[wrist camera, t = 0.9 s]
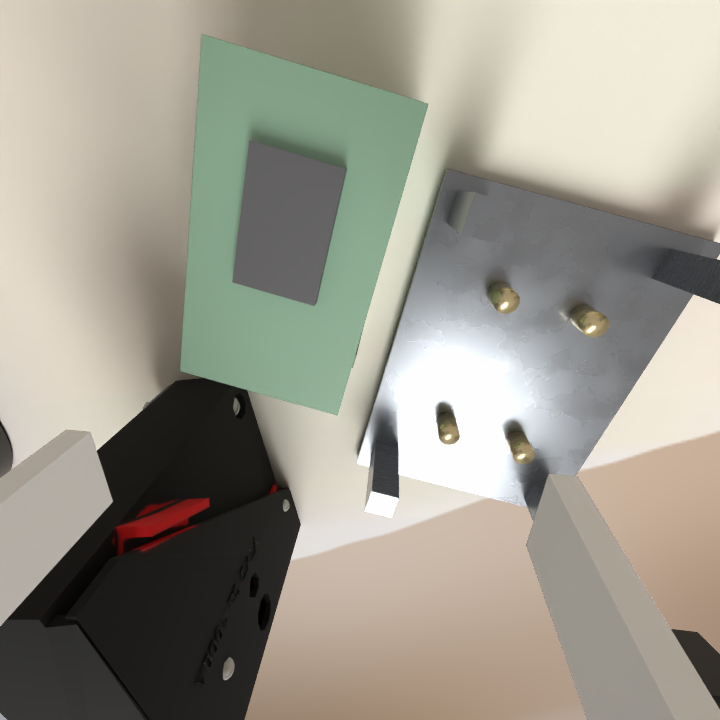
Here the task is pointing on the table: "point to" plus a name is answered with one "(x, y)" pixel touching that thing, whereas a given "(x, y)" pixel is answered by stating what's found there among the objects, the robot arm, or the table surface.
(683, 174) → the table surface
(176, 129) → the table surface
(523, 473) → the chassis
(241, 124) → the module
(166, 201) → the table surface
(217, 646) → the electrical component
